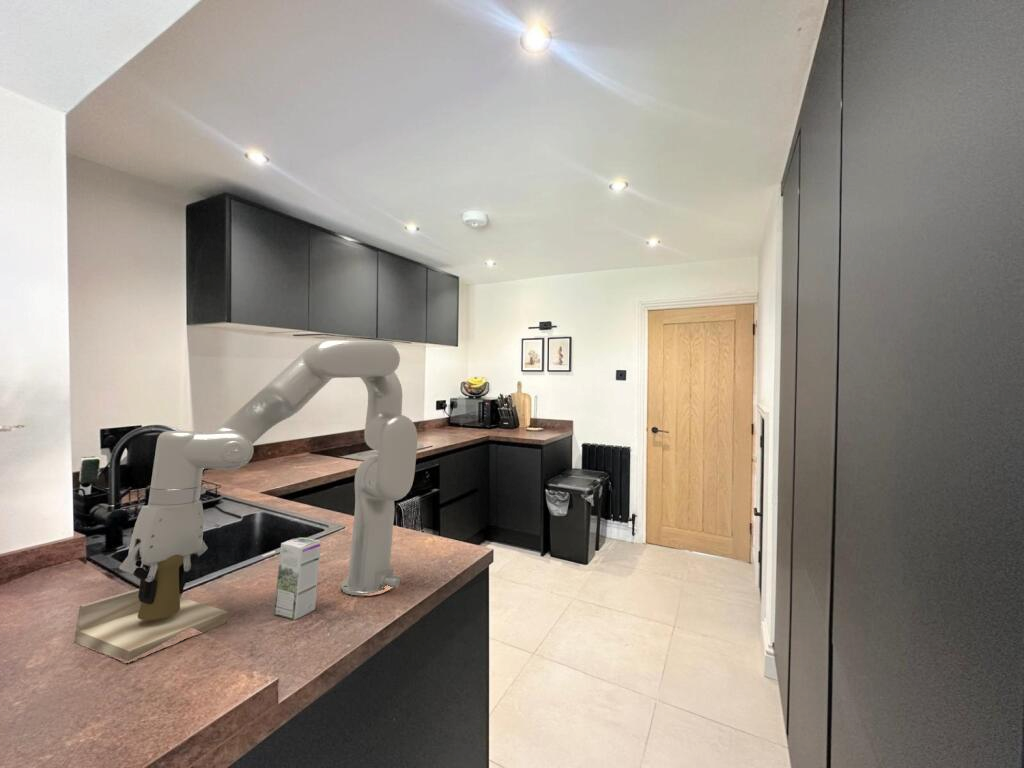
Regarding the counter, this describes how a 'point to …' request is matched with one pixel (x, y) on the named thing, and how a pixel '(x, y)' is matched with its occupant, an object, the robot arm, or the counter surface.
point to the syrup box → (297, 577)
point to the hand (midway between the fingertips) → (161, 596)
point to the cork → (164, 591)
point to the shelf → (138, 624)
